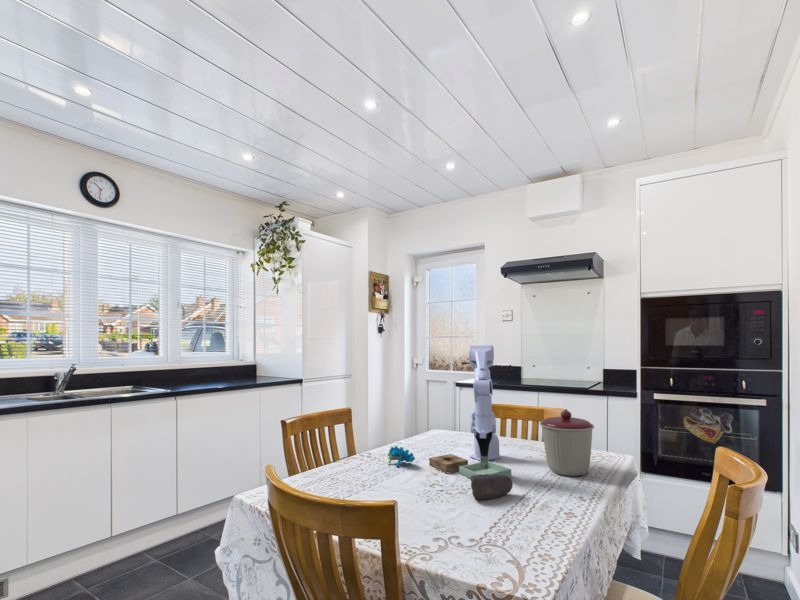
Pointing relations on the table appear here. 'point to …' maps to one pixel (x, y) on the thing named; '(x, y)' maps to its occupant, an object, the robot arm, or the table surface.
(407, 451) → the blue bumpy piece
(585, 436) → the canister
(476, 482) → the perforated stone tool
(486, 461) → the pin
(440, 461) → the block
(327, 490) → the table surface
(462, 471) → the tray
